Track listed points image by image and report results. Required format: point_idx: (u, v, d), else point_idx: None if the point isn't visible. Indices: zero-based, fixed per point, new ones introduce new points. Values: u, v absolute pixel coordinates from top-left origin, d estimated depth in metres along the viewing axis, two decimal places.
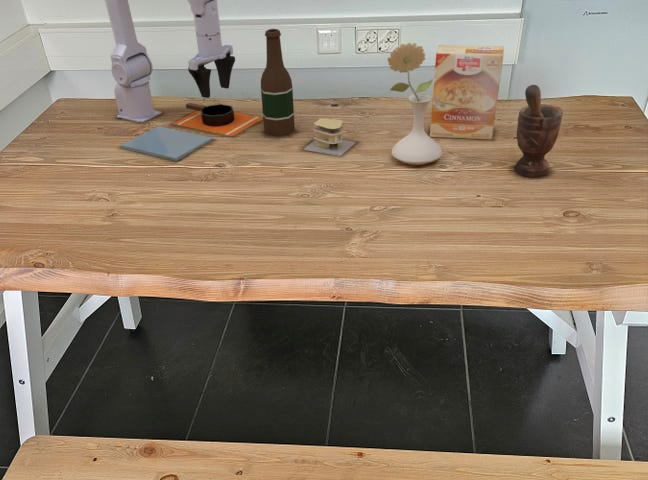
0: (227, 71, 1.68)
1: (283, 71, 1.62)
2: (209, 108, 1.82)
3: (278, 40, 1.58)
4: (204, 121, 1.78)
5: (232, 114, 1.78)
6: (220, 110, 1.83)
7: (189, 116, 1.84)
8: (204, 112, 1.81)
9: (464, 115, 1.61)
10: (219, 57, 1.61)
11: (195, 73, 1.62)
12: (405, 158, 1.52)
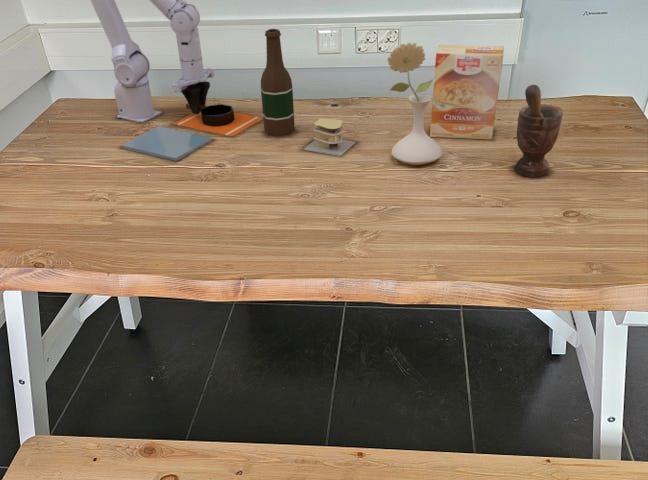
0: (202, 95, 1.80)
1: (283, 71, 1.62)
2: (209, 108, 1.82)
3: (278, 40, 1.58)
4: (204, 121, 1.78)
5: (232, 114, 1.78)
6: (220, 110, 1.83)
7: (189, 116, 1.84)
8: (204, 112, 1.81)
9: (464, 115, 1.61)
10: (201, 80, 1.75)
11: (186, 92, 1.78)
12: (405, 158, 1.52)
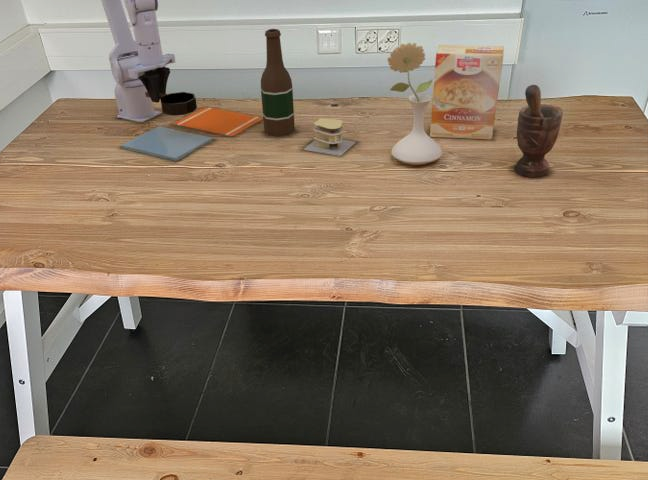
0: (162, 82, 1.67)
1: (283, 71, 1.62)
2: (170, 96, 1.69)
3: (278, 40, 1.58)
4: (164, 110, 1.65)
5: (194, 102, 1.66)
6: (182, 98, 1.70)
7: (189, 116, 1.84)
8: (164, 100, 1.68)
9: (464, 115, 1.61)
10: (159, 66, 1.62)
11: (144, 78, 1.65)
12: (405, 158, 1.52)
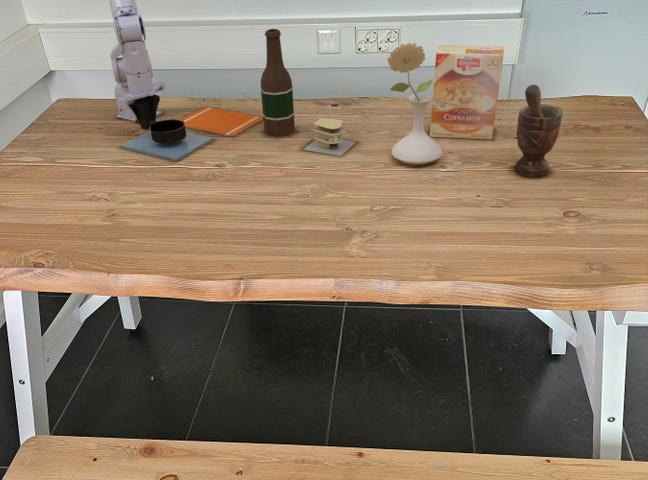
0: (152, 110, 1.68)
1: (283, 71, 1.62)
2: (160, 123, 1.70)
3: (278, 40, 1.58)
4: (153, 138, 1.65)
5: (183, 130, 1.66)
6: (172, 125, 1.71)
7: (189, 116, 1.84)
8: (154, 128, 1.68)
9: (464, 115, 1.61)
10: (149, 94, 1.63)
11: (134, 106, 1.66)
12: (405, 158, 1.52)
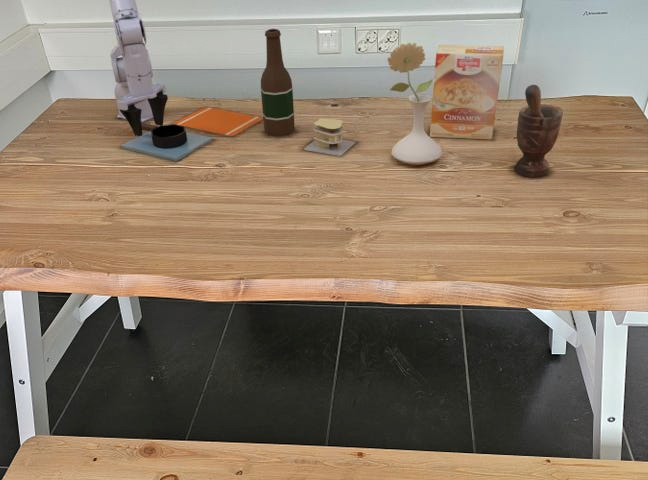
0: (160, 109, 1.70)
1: (283, 71, 1.62)
2: (161, 128, 1.70)
3: (278, 40, 1.58)
4: (154, 143, 1.66)
5: (184, 135, 1.67)
6: (173, 130, 1.71)
7: (189, 116, 1.84)
8: (155, 133, 1.69)
9: (464, 115, 1.61)
10: (149, 97, 1.63)
11: (126, 112, 1.64)
12: (405, 158, 1.52)
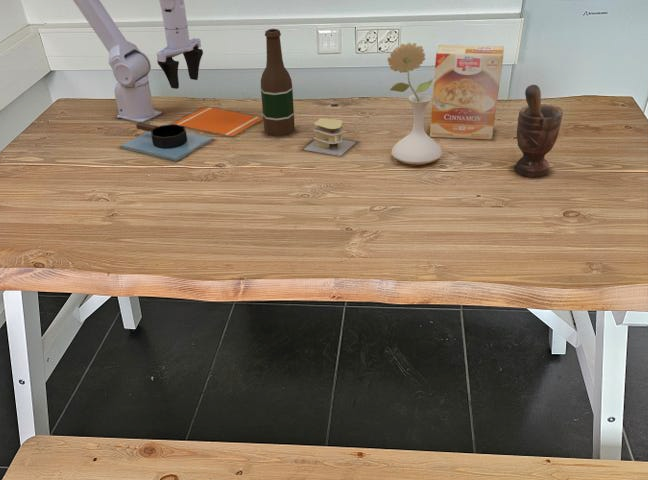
0: (195, 63, 1.76)
1: (283, 71, 1.62)
2: (161, 128, 1.70)
3: (278, 40, 1.58)
4: (154, 143, 1.66)
5: (184, 135, 1.67)
6: (173, 130, 1.71)
7: (189, 116, 1.84)
8: (155, 133, 1.69)
9: (464, 115, 1.61)
10: (186, 49, 1.69)
11: (164, 65, 1.71)
12: (405, 158, 1.52)
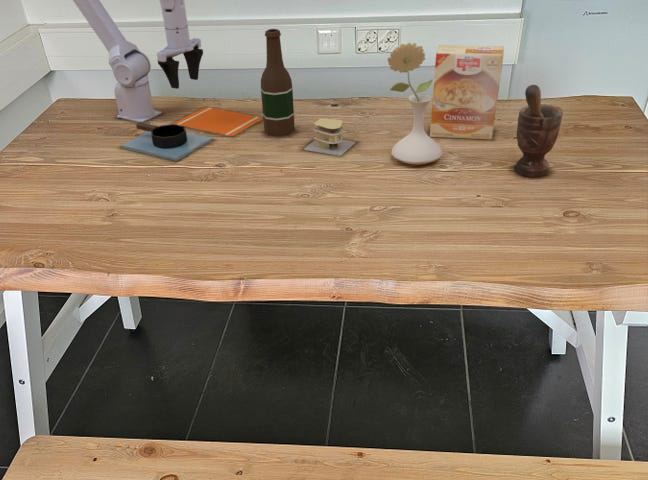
0: (195, 63, 1.76)
1: (283, 71, 1.62)
2: (161, 128, 1.70)
3: (278, 40, 1.58)
4: (154, 143, 1.66)
5: (184, 135, 1.67)
6: (173, 130, 1.71)
7: (189, 116, 1.84)
8: (155, 133, 1.69)
9: (464, 115, 1.61)
10: (187, 49, 1.69)
11: (164, 65, 1.71)
12: (405, 158, 1.52)
